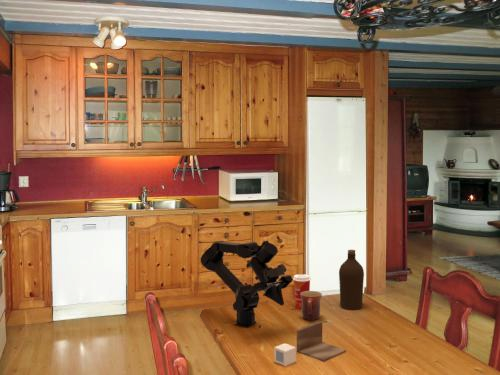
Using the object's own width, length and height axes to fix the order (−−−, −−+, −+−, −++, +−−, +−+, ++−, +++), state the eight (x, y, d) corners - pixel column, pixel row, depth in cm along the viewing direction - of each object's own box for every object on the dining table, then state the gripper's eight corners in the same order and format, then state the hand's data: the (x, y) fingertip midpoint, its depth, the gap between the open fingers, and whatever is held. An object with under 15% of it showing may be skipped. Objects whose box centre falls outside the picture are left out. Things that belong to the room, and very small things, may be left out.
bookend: (296, 351, 188) (296, 329, 187) (319, 342, 196) (319, 321, 195) (323, 362, 179) (323, 338, 178) (346, 352, 187) (346, 329, 186)
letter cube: (274, 361, 180) (274, 347, 179) (284, 357, 183) (284, 343, 183) (285, 366, 176) (285, 351, 175) (295, 361, 179) (295, 347, 179)
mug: (301, 314, 227) (301, 290, 226) (322, 315, 225) (322, 291, 225) (298, 323, 216) (298, 298, 215) (320, 325, 214) (320, 299, 213)
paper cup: (291, 305, 239) (291, 274, 238) (308, 304, 240) (308, 273, 239) (294, 310, 232) (294, 278, 230) (312, 310, 232) (312, 278, 231)
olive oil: (347, 311, 230) (348, 253, 227) (334, 304, 239) (334, 249, 237) (368, 308, 234) (369, 251, 231) (354, 301, 243) (354, 246, 241)
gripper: (254, 262, 196) (276, 298, 189) (289, 254, 208) (311, 287, 201) (239, 279, 202) (260, 315, 195) (274, 270, 215) (295, 303, 208)
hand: (282, 304), depth 200 cm, fingers closed
